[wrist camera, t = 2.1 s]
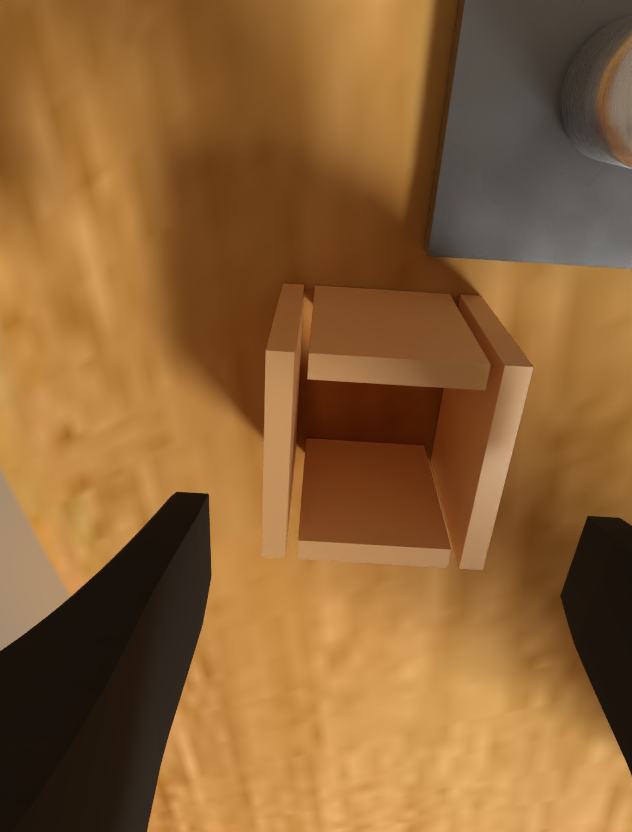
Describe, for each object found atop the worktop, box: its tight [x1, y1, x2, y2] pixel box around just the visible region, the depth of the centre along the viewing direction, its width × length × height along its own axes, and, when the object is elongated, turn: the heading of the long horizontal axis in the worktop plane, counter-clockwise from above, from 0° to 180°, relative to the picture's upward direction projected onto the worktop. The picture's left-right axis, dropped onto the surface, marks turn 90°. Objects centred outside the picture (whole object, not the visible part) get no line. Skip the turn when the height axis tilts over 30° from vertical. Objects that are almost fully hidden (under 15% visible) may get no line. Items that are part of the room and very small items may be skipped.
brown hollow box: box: [262, 283, 534, 570], centre depth 16 cm, size 6×6×5 cm
